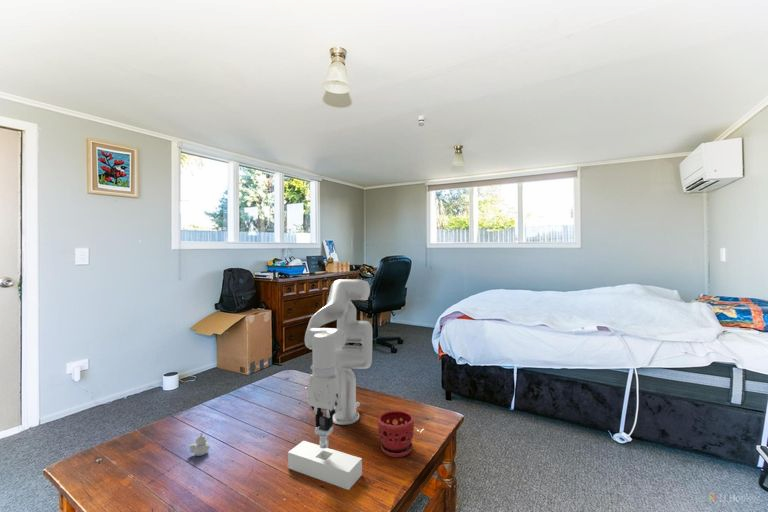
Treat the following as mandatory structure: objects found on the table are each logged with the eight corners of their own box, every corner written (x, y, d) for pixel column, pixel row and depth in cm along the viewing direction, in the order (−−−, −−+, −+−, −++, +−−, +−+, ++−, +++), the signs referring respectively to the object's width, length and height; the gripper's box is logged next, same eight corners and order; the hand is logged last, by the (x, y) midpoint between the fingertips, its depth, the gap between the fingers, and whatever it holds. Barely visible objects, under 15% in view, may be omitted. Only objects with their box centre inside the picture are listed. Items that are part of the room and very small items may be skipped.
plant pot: (417, 443, 130) (417, 412, 130) (408, 463, 118) (408, 428, 118) (384, 437, 135) (384, 407, 135) (372, 456, 122) (372, 422, 122)
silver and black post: (322, 439, 117) (322, 410, 117) (336, 443, 115) (336, 413, 115) (311, 448, 112) (310, 417, 112) (326, 453, 109) (326, 421, 109)
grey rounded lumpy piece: (207, 457, 122) (207, 435, 122) (186, 460, 120) (186, 437, 120) (211, 449, 127) (211, 427, 127) (191, 451, 125) (191, 429, 125)
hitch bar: (303, 455, 123) (303, 440, 123) (361, 474, 112) (361, 458, 112) (287, 468, 116) (287, 452, 116) (348, 490, 105) (348, 472, 105)
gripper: (297, 370, 114) (297, 426, 114) (338, 378, 106) (338, 438, 106) (311, 364, 120) (311, 416, 120) (351, 371, 113) (351, 427, 113)
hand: (324, 426), depth 113 cm, fingers closed on silver and black post, 3 cm apart
